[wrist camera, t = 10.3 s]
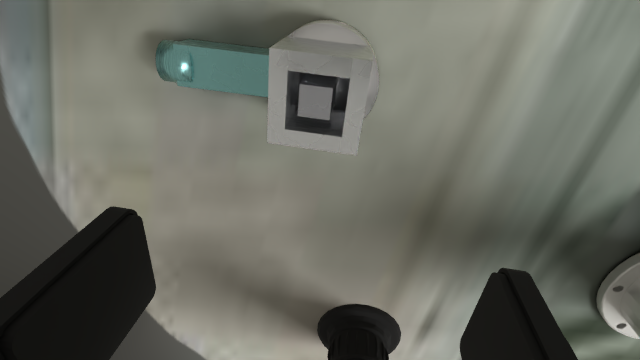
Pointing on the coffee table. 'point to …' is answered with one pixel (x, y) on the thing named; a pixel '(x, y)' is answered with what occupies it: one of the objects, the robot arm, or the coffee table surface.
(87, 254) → the robot arm
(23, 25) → the coffee table surface
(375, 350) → the handle grip
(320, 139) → the hollow white cube
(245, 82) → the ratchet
